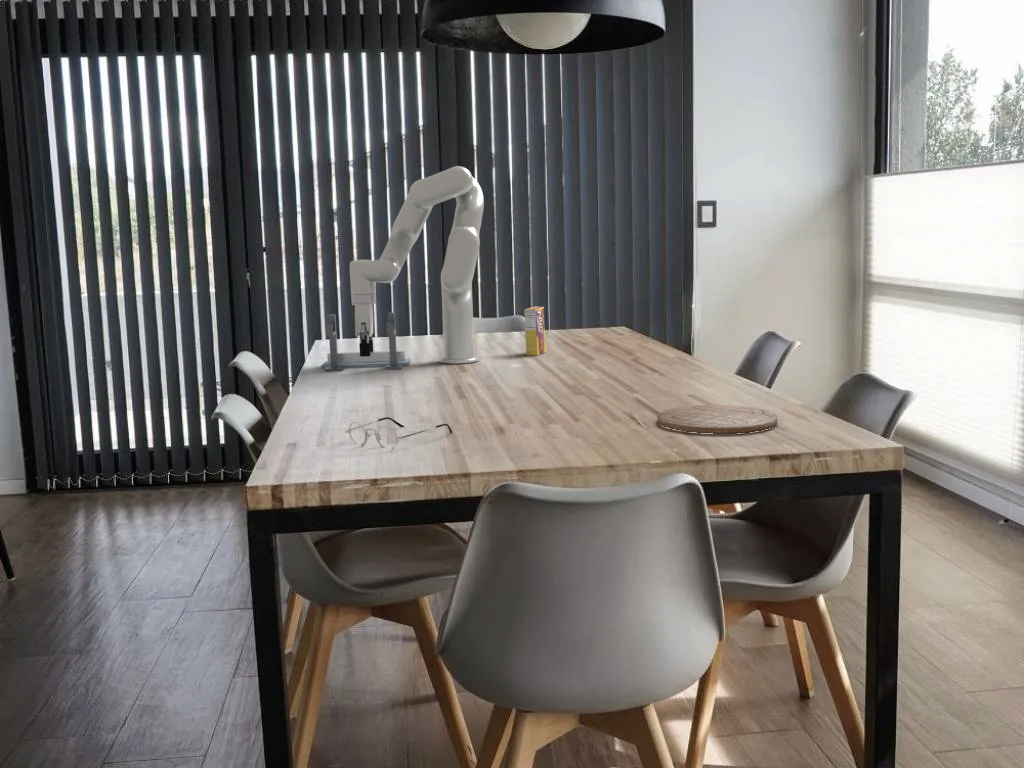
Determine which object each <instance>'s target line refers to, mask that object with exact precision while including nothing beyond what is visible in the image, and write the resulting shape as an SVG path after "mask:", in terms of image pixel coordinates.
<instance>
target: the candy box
mask: <svg viewBox="0 0 1024 768" xmlns="http://www.w3.org/2000/svg"><path fill="white" fill-rule="evenodd" d="M523 311H524V313H523V314H524V329H525V330H524V331H525V333H524V334H525V354H526V356H527V357H529V356H530V357H532V356H533V357H534V356H540V355H542V354H545V353H546V352H547V348H546V347H547V344H546V343H547V342H546V327H545V326H546V325H545V307H544V306H532V307H528V308H525V309H524V310H523Z"/></svg>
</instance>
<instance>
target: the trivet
mask: <svg viewBox="0 0 1024 768" xmlns="http://www.w3.org/2000/svg"><path fill="white" fill-rule="evenodd" d="M656 420H657V421H658V423H659V424H660V425H662V426H664V427H668V428H671V429H676V430H681V431H686V432H697V433H713V434H737V433H750V432H755V431H762V430H765V429H769V428H772V427H774V426H776V425H778V415H777V414H776V413H775V412H773V411H769V410H766V409H762V408H758V407H751V406H744V405H743V406H742V405H731V404H729V405H728V404H727V405H726V404H703V405H702V404H701V405H700V404H699V405H697V404H696V405H686V406H680V407H679V406H678V407H673V408H669V409H665V410H662V411H660V412H659V413H658V414H657V415H656ZM657 421H656V422H657ZM658 423H657V424H658ZM776 427H777V426H776ZM774 428H775V427H774Z"/></svg>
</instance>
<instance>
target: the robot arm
mask: <svg viewBox="0 0 1024 768" xmlns="http://www.w3.org/2000/svg"><path fill="white" fill-rule="evenodd" d="M453 198H455V200H456V206H455V212H454V216H453V217H454V218H453V223H452V227H451V231H450V234H449V236H448V240H447V247H446V252H445V255H444V262H443V267H442V269H441V270H440V271H441V272H440V285H441V287H440V288H441V289H440V290H441V307H442V308H441V309H442V311H441V312H442V313H441V315H442V337H443V356H442V357H439V360H438V361H439V362H440V363H441V364H442V363H443V364H452V365H453V364H454V365H455V364H468V363H469V364H470V363H471V364H472V363H477V362H479V361H480V356H478V355H475V344H474V343H475V340H474V339H475V338H474V313H473V312H474V310H473V309H474V306H473V286H472V285H473V284H472V283H473V279H474V274H475V269H476V265H477V260H478V256H479V252H480V251H479V250H480V244H481V243H480V242H481V241H480V230H481V227H482V221H483V214H484V206H485V201H484V200H485V198H484V193H483V189H482V188H481V186H480V184H479V182H478V181H477V179H475V178H474V177H473V175H472V173H471V171H470V170H469V169H467V168H466V167H465V166H461V165H456V166H452V167H450V168H447V169H446V170H443V171H440V172H437V173H435V174H432V175H430V176H427V177H424V178H421V179H417V180H416V181H414V182H413V183H412V185H411V186H410V189H409V191H408V194H407V195H406V198H405V200H404V202H403V204H402V206H401V208H400V210H399V212H398V214H397V217H396V218H395V221H394V222H393V225H392V227H391V232H390V236H389V239H388V241H387V243H386V246H385V247H384V250H383V252H382V254H381V255H380V257H379V259H375V260H371V259H355V260H354V259H353V260H351V261H350V263H349V277H350V278H349V279H350V296H351V297H350V298H351V305H352V306H354V326H355V327H354V329H355V330H354V331H355V332H354V333H355V335H354V336H355V337H356V338H358V337H359V344H358V345H359V347H358V348H359V352H360V356H361V357H365V356H370V352H374V339H373V334H374V310H373V309H374V307H373V305H376V304H377V294H376V283H383V284H389V283H392V282H394V281H396V279H397V278H398V276H399V274H400V272H401V270H402V268H403V266H404V264H405V261H406V260H407V258H408V255H410V252H411V249H412V247H413V246H414V245H415V243H416V242H417V241H418V239H419V236H420V234H421V232H422V231H423V228H424V225H425V224H426V222H427V220H428V218H429V216H430V214H431V212H432V210H433V207H434V206H435V205H437V204H441V203H444V202H446V201H448V200H451V199H453Z"/></svg>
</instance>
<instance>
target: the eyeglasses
mask: <svg viewBox="0 0 1024 768" xmlns="http://www.w3.org/2000/svg"><path fill="white" fill-rule="evenodd" d="M385 420H390V421H391V422H393V423H394V424H396V425H397V426H398V427H399V428H401V427H403V428H405V426H404V425H402V423H400V422H398V421H397V420H395V419H393V418H391V417H382V418H379V419H377V420H375V421H372V422H371V421H370V422H368V423H364V424H362V423H360V422H358V421H353V422H352V423H350V425H349V427H348V429H346V432H345V433H348V434H349V437H350V440H351V441H352V442H353V443H354V444H356V443H357V442H356V441H355V440H354V438H353V436H352V434H351V432H352V431H354V430H357V429H360V428H362V430H363V432H364V441H363V443H362V445H363V446H364V445H366V444H367V442H368V440H370V437H371V434H372V433H371V432H370V433H369V432H368V431H374V436H375V438H376V442H377V443H378V445H379V446H380V447H381V448H385V447H386V446H385V445H384V444H382V442H381V440H382V438H381V434H379V432H380V429H382V428H384V427H387V428H390V429H391V430H392V431H393V433H394V435H395V438H396V439H395V440H396V443H395V445H393V446H392V449H393V448H395V447H396V446H397V445H398V442H399V440H402V439H405V438H409V437H411V436H415V435H418V434H421V433H424V432H427V431H429V430H432V429H437V428H441V427H445V426H446V427H447V428H448V430H449V433H450V434H453V430H452V428H451V427H450V425H449V424H448V423H442V424H439V425H435V426H434V427H431V428H426V429H424V430H423V429H422V430H419V431H417V432H412V433H410V434H409V433H408V434H405V435H403V436H400V435H399V436H398V434H397V432H396V430H395V429H394V428H393V427H392V426H390V425H386V424H385V425H381V426H380V427H379V428H378V430H377V429H373V428H367V429H365V427H366V426H368V425H372V424H373V423H376V422H381V421H385ZM353 424H358V425H359V426H356V427H355V426H354V427H352V425H353ZM351 427H352V428H351Z"/></svg>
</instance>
